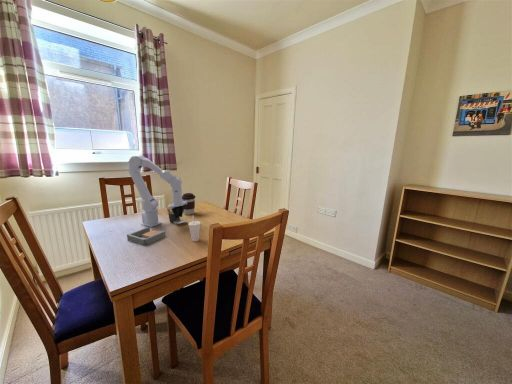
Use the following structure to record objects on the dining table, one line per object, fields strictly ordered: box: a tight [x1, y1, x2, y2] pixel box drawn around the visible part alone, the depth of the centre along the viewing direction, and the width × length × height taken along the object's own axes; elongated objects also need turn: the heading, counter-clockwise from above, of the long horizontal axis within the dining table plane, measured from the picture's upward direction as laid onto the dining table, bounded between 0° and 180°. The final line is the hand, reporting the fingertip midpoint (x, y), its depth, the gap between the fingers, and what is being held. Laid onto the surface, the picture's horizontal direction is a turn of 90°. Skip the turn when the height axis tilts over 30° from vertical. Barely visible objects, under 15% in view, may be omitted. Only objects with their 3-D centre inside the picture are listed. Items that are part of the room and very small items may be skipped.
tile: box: [141, 229, 161, 239], centre depth 121 cm, size 7×7×2 cm
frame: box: [126, 226, 167, 246], centre depth 117 cm, size 14×13×3 cm
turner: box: [168, 212, 189, 225], centre depth 140 cm, size 11×8×6 cm
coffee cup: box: [182, 192, 196, 216], centre depth 159 cm, size 10×10×15 cm
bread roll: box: [166, 202, 173, 214], centre depth 162 cm, size 13×10×8 cm
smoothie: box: [187, 214, 201, 242], centre depth 115 cm, size 6×6×14 cm
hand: (178, 217), depth 139 cm, fingers closed on turner, 2 cm apart
